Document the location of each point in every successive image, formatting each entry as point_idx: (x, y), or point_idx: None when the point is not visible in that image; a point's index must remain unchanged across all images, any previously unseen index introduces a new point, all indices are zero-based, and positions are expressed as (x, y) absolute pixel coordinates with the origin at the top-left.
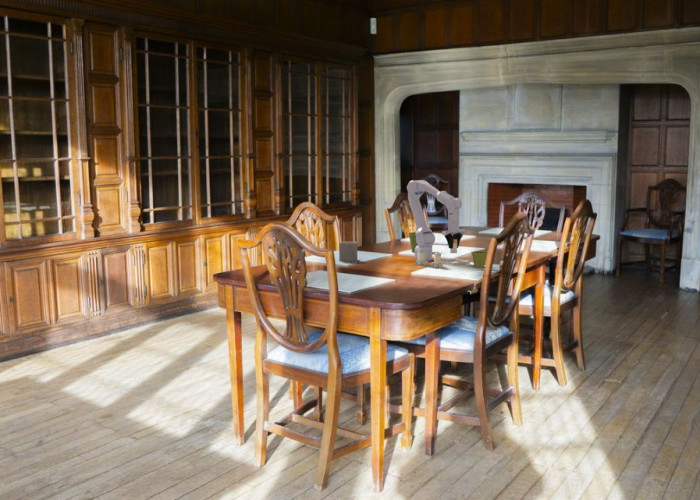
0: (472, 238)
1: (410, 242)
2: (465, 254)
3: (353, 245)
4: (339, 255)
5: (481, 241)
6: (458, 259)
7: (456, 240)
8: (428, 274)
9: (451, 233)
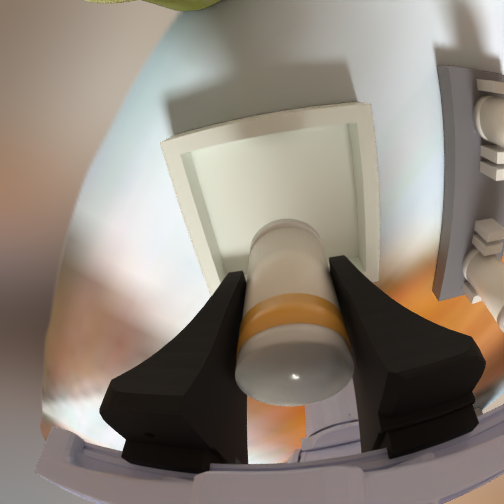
0: None
1: None
2: (88, 395)
3: None
4: None
5: (44, 435)
6: (208, 251)
7: (276, 328)
8: None
9: (383, 464)
